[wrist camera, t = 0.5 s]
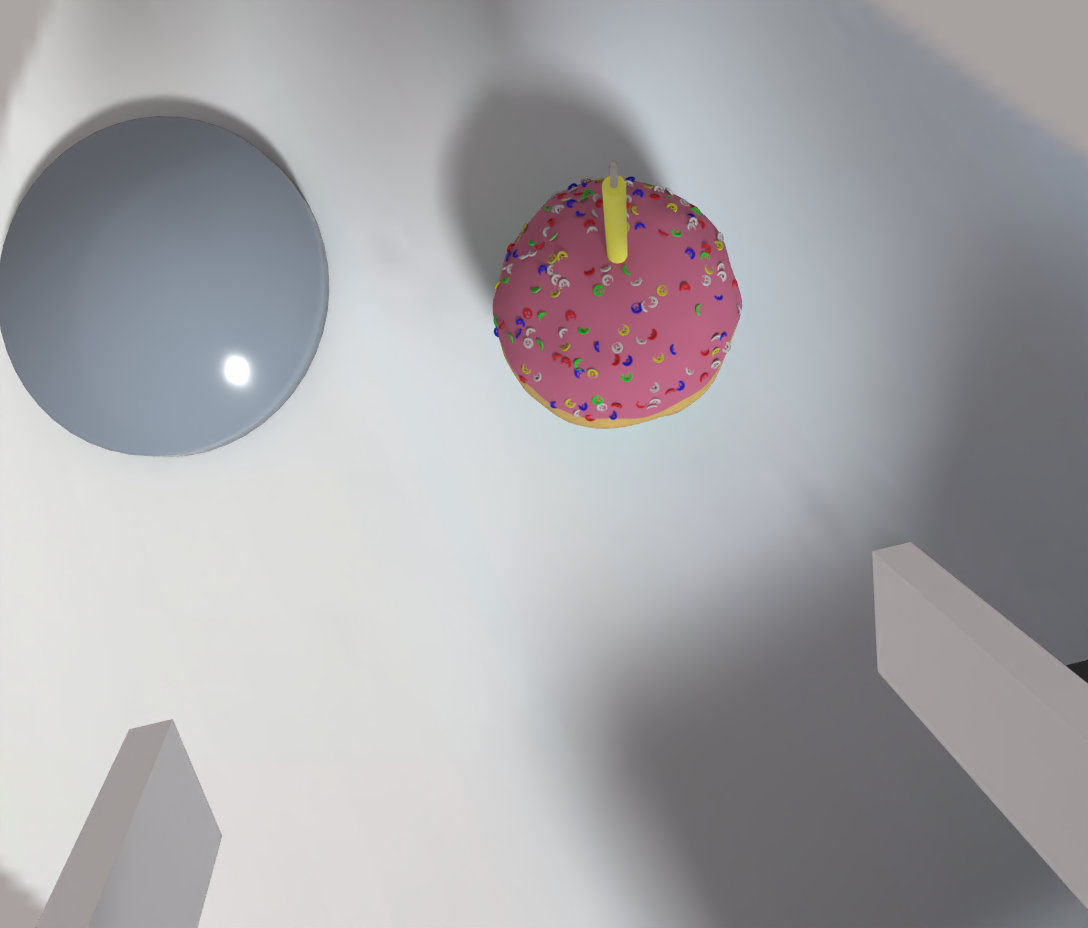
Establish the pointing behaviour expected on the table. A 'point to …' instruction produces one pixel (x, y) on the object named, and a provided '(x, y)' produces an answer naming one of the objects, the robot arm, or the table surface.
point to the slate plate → (162, 288)
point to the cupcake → (616, 303)
